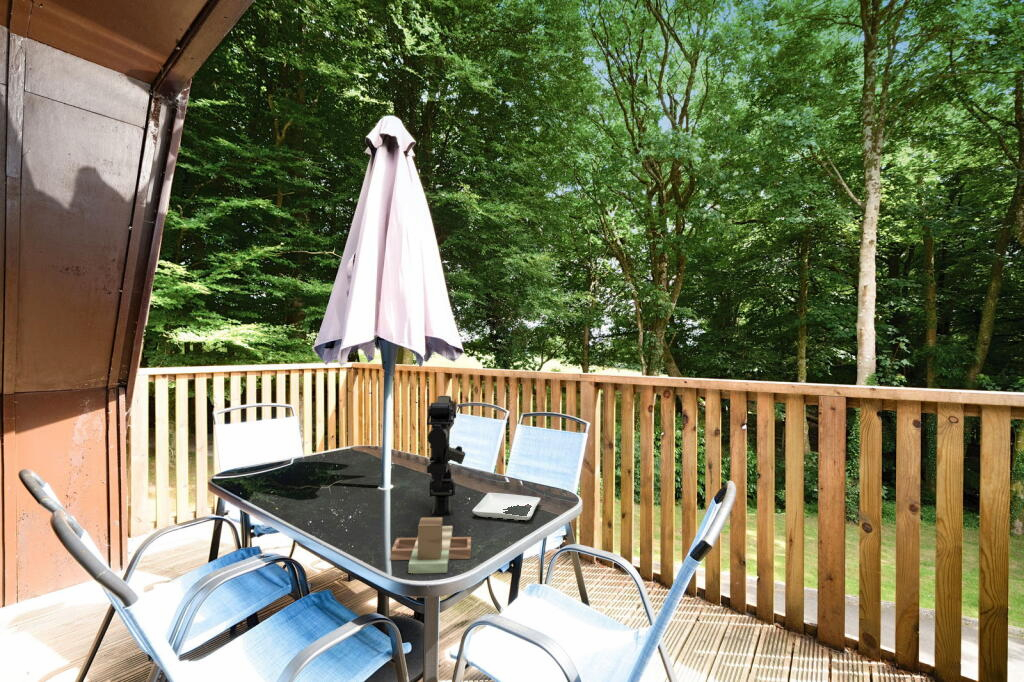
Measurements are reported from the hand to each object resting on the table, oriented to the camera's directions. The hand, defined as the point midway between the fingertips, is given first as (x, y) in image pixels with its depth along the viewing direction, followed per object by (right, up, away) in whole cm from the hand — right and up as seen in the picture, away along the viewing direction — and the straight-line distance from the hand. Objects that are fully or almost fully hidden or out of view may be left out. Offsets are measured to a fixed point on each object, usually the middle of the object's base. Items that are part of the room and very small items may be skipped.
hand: (438, 488), depth 152 cm
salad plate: (+23, -14, +16) cm, 31 cm away
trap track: (+1, -13, -18) cm, 22 cm away
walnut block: (+2, -10, -26) cm, 28 cm away
